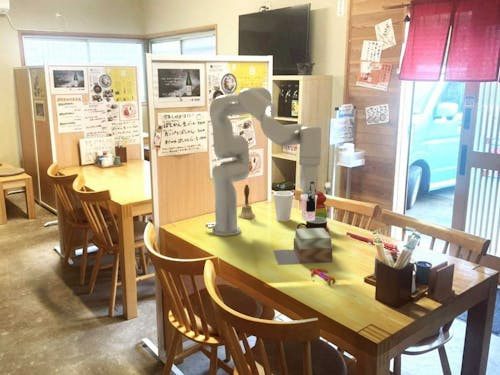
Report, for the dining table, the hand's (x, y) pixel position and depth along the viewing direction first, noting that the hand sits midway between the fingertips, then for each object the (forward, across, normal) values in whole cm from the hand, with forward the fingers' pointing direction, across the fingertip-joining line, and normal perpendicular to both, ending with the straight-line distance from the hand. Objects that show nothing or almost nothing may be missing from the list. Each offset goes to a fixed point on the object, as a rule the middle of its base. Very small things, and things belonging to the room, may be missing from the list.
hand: (308, 208), depth 166 cm
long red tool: (+21, -15, +29) cm, 39 cm away
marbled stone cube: (+19, 0, +2) cm, 19 cm away
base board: (+20, 0, -2) cm, 20 cm away
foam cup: (+20, -49, -2) cm, 53 cm away
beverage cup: (+4, 0, 0) cm, 4 cm away
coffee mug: (+20, -17, +5) cm, 27 cm away
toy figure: (+21, +17, +1) cm, 27 cm away
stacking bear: (+20, -34, +11) cm, 41 cm away
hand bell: (+20, -56, -19) cm, 62 cm away
